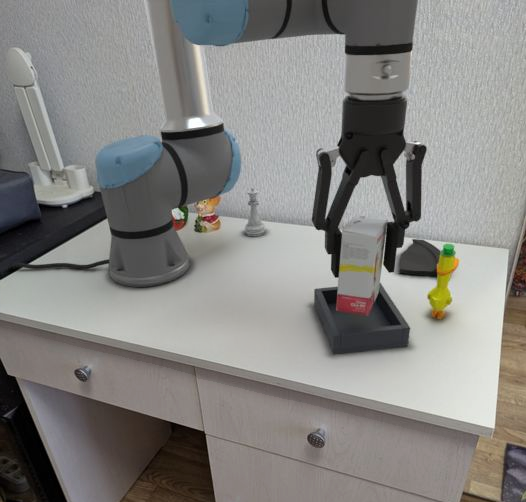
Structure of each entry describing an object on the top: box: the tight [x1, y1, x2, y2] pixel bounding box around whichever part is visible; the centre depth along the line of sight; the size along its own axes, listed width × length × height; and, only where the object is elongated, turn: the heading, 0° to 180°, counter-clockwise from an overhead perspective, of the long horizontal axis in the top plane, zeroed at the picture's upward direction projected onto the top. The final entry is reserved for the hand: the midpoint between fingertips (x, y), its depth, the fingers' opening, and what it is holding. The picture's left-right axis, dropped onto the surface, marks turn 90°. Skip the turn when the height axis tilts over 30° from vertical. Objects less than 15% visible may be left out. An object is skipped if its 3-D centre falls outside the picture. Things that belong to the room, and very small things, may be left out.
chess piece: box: [244, 187, 266, 237], centre depth 106 cm, size 4×4×10 cm
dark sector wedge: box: [398, 238, 441, 277], centre depth 94 cm, size 8×14×2 cm, turn 163°
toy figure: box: [426, 243, 460, 320], centre depth 75 cm, size 7×4×12 cm, turn 142°
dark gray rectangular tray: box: [313, 282, 411, 355], centre depth 76 cm, size 11×14×3 cm
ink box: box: [336, 214, 389, 315], centre depth 70 cm, size 9×5×12 cm, turn 158°
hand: (362, 270), depth 71 cm, fingers open, 7 cm apart
